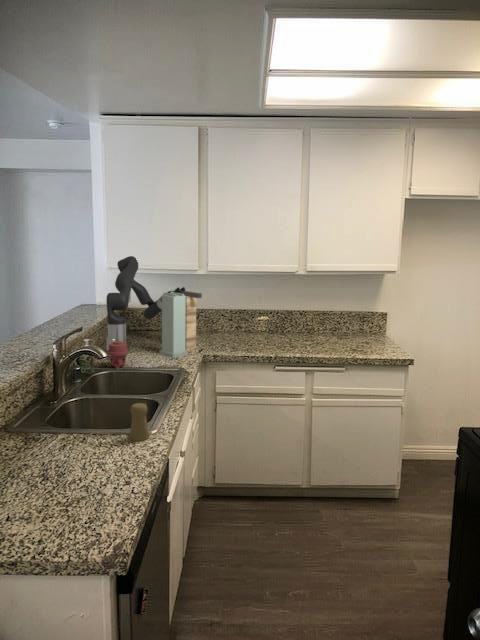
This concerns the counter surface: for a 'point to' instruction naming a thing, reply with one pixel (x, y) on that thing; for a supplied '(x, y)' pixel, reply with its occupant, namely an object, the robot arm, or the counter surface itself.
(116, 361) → the mechanical component
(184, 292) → the lever bar
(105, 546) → the counter surface
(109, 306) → the robot arm
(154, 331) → the counter surface
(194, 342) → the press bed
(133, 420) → the cork
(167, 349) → the frame
